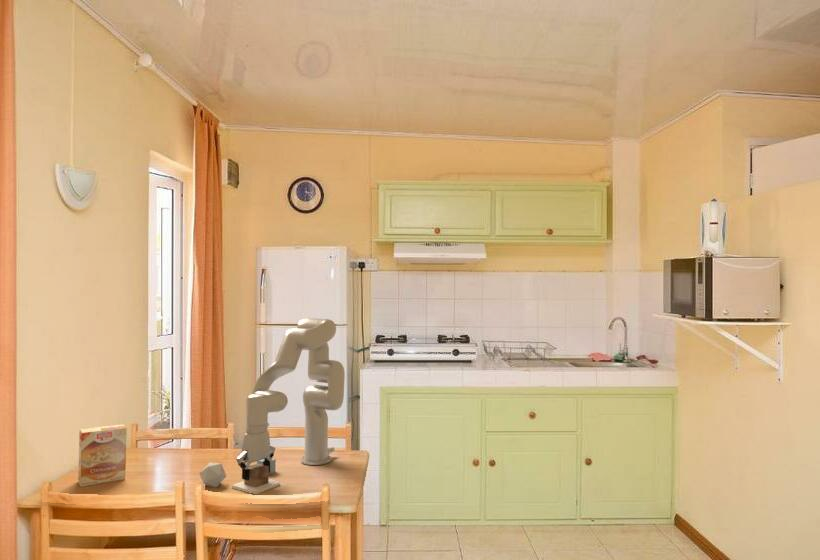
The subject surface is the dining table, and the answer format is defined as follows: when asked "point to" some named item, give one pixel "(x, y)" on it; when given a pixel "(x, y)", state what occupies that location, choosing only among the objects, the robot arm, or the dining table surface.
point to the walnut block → (257, 475)
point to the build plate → (258, 489)
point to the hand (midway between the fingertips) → (256, 475)
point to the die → (213, 474)
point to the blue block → (272, 465)
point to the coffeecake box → (102, 454)
